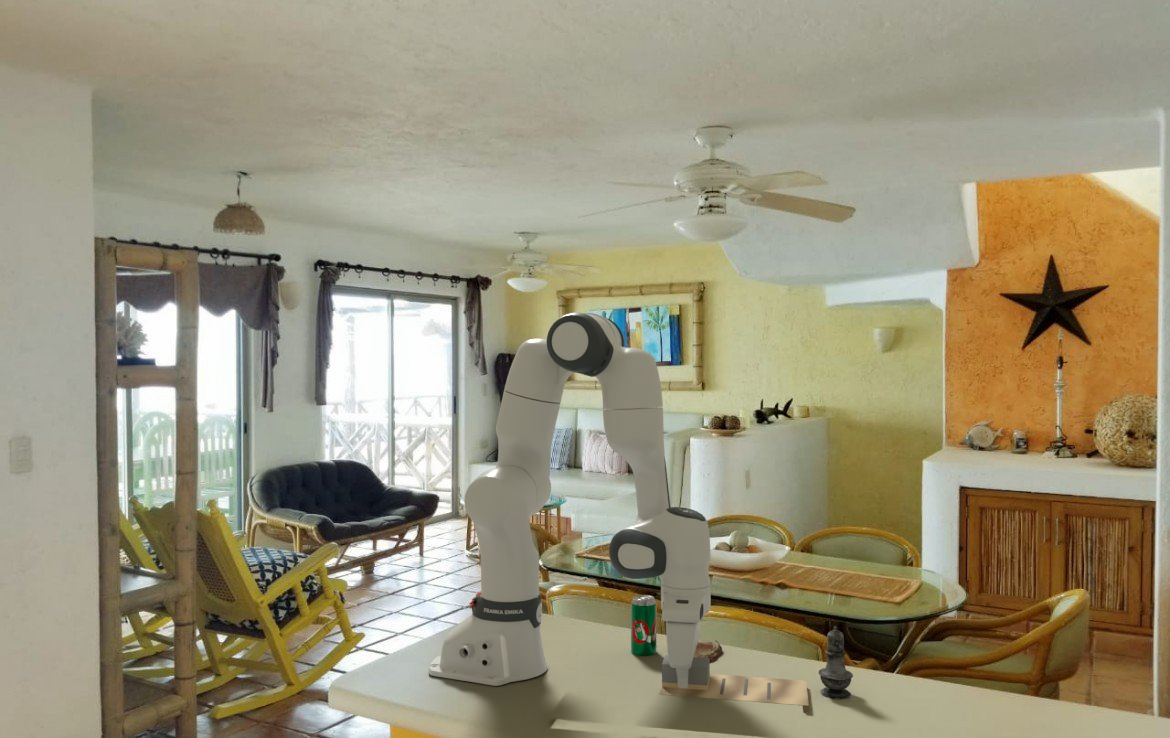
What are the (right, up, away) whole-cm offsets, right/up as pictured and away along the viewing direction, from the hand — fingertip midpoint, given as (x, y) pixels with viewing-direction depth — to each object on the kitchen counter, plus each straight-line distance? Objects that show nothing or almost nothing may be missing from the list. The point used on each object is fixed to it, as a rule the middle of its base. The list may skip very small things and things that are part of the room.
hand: (685, 677), depth 154 cm
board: (+8, -2, -2) cm, 9 cm away
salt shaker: (+26, -3, -2) cm, 26 cm away
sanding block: (0, -1, 0) cm, 1 cm away
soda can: (-6, -3, +18) cm, 19 cm away
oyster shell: (+4, -3, +19) cm, 19 cm away
